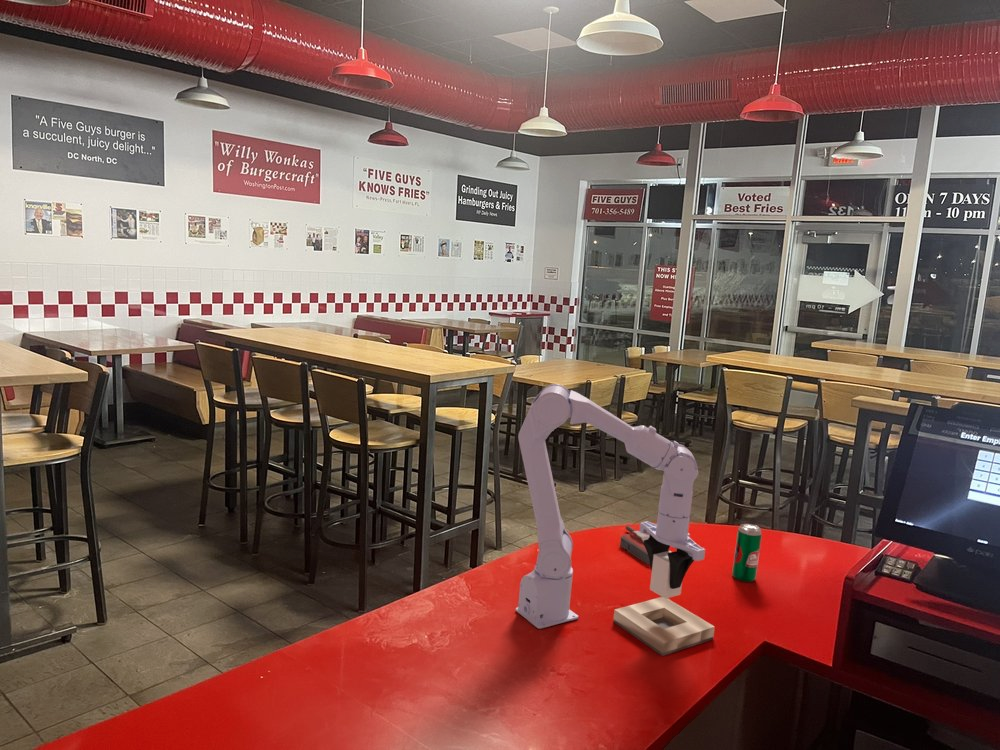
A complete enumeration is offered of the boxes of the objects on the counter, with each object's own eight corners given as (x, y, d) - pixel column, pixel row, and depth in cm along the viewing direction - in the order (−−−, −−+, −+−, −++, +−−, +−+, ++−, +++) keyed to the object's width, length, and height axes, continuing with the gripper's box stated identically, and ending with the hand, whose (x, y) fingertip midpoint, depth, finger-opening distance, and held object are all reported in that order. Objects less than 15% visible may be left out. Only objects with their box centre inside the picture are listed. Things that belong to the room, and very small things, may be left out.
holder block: (662, 655, 126) (663, 642, 126) (613, 621, 137) (614, 609, 137) (713, 639, 133) (714, 626, 133) (662, 607, 144) (664, 596, 144)
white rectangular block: (665, 598, 132) (669, 562, 131) (649, 589, 135) (653, 554, 134) (680, 594, 134) (684, 559, 133) (665, 585, 137) (669, 550, 136)
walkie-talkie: (680, 563, 167) (629, 531, 185) (682, 545, 166) (631, 515, 184) (649, 568, 163) (600, 535, 181) (651, 550, 162) (602, 518, 180)
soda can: (747, 585, 157) (754, 533, 155) (727, 576, 161) (733, 525, 159) (759, 579, 161) (767, 528, 159) (739, 571, 164) (746, 521, 162)
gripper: (720, 523, 128) (711, 594, 130) (661, 497, 140) (654, 563, 142) (692, 529, 124) (683, 602, 126) (634, 501, 136) (627, 569, 138)
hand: (666, 582), depth 134 cm, fingers closed on white rectangular block, 4 cm apart
